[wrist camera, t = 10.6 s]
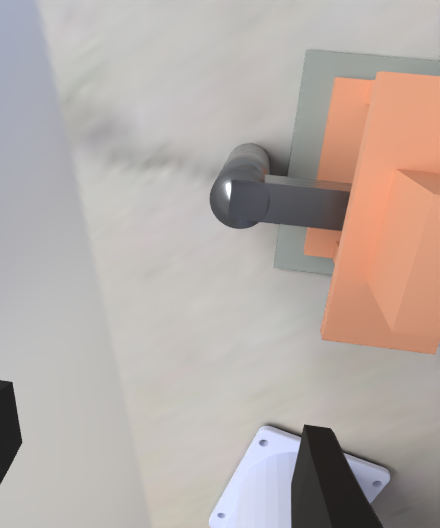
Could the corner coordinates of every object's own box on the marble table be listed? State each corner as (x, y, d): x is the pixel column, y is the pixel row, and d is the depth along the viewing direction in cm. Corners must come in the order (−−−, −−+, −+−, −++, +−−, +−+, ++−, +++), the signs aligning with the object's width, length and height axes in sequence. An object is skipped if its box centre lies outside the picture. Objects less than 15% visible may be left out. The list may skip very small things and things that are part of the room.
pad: (457, 63, 15) (461, 62, 15) (394, 279, 19) (396, 282, 18) (305, 50, 15) (306, 49, 15) (273, 265, 19) (273, 267, 19)
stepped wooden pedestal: (420, 84, 15) (629, 83, 6) (375, 258, 18) (475, 420, 9) (334, 77, 15) (421, 65, 7) (303, 249, 18) (335, 400, 10)
